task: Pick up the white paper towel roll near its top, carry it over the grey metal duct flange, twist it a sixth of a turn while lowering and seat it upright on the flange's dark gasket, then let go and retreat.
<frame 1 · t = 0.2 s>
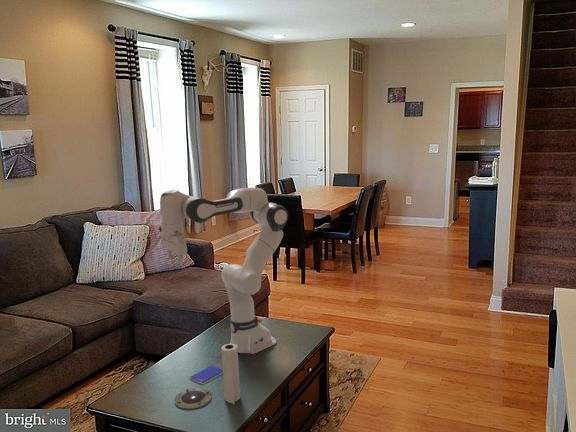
hand: (175, 261, 213), 48 cm above the table, fingers open, 8 cm apart
hard drive: (207, 377, 213), on the table
paper towel roll: (231, 399, 193), on the table
duct flange: (193, 399, 194), on the table
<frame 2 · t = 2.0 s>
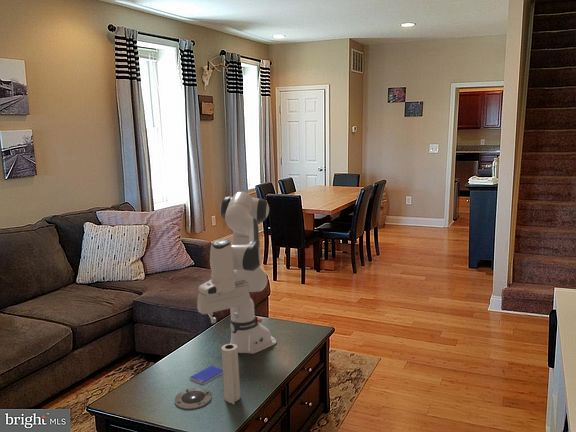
hand: (225, 319, 188), 32 cm above the table, fingers open, 8 cm apart
nothing on the table moved.
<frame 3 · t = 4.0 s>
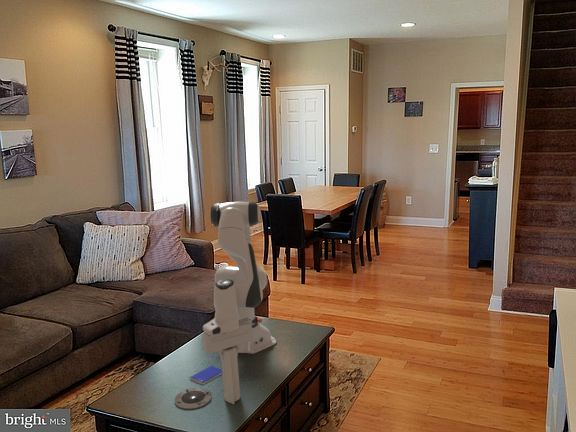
hand: (229, 357, 190), 17 cm above the table, fingers closed on paper towel roll, 4 cm apart
paper towel roll: (231, 399, 193), on the table, touching gripper
everything else where it was.
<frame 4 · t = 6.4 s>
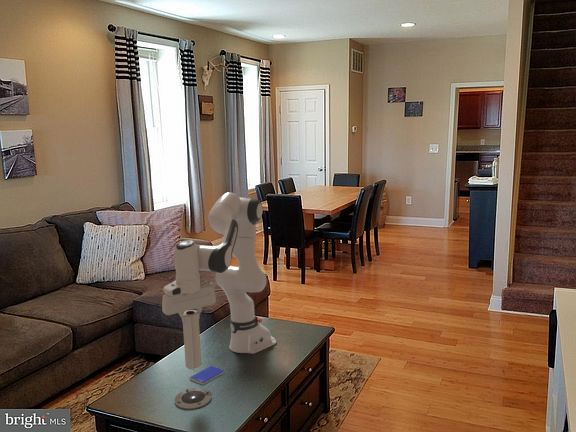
hand: (191, 320, 188), 32 cm above the table, fingers closed on paper towel roll, 3 cm apart
paper towel roll: (192, 366, 191), point 14 cm above the table, touching gripper
everything else where it was.
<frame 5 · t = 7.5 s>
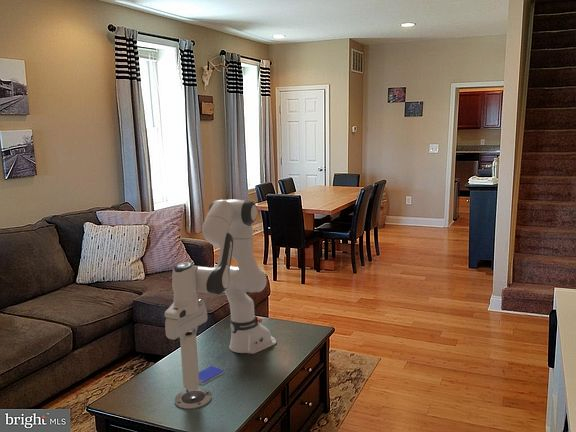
hand: (188, 341, 190), 24 cm above the table, fingers closed on paper towel roll, 3 cm apart
paper towel roll: (191, 387, 193), point 5 cm above the table, touching gripper
everything else where it was.
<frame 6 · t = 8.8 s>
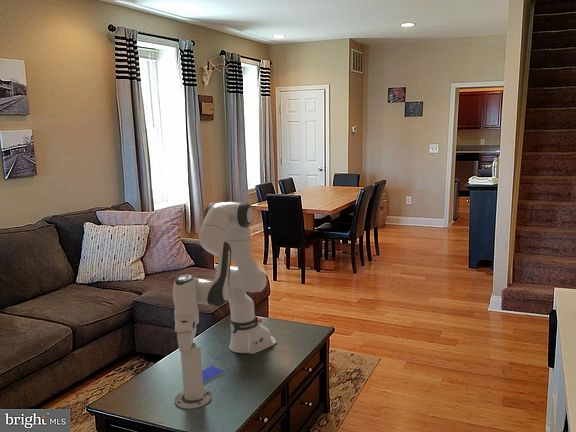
hand: (189, 353, 191), 19 cm above the table, fingers closed on paper towel roll, 3 cm apart
paper towel roll: (193, 398, 194), point 1 cm above the table, touching duct flange, gripper
everything else where it was.
when the fingers open (19 cm above the table, at t = 9.1 s): paper towel roll stays where it is, resting on duct flange.
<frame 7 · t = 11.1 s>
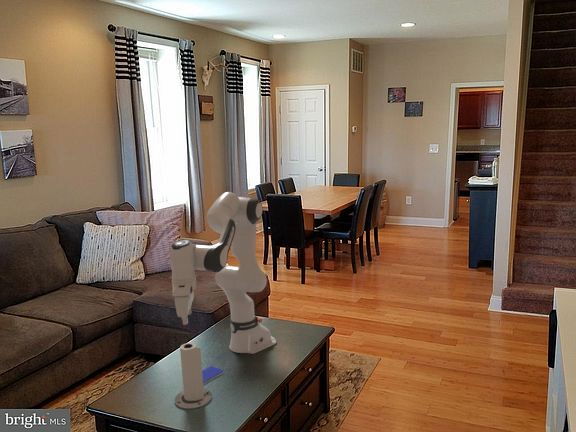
hand: (187, 318, 191), 32 cm above the table, fingers open, 8 cm apart
paper towel roll: (193, 398, 193), point 1 cm above the table, touching duct flange
everything else where it was.
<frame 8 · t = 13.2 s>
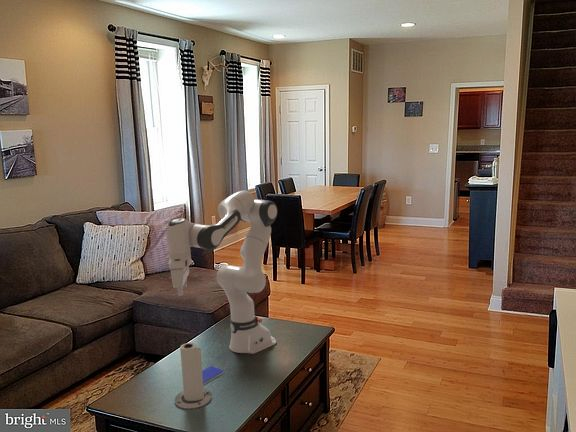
hand: (182, 291, 207), 37 cm above the table, fingers open, 8 cm apart
nothing on the table moved.
at the end: paper towel roll 1.0 cm from the duct flange (horizontally); paper towel roll tilted 0°; the gripper is holding nothing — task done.
